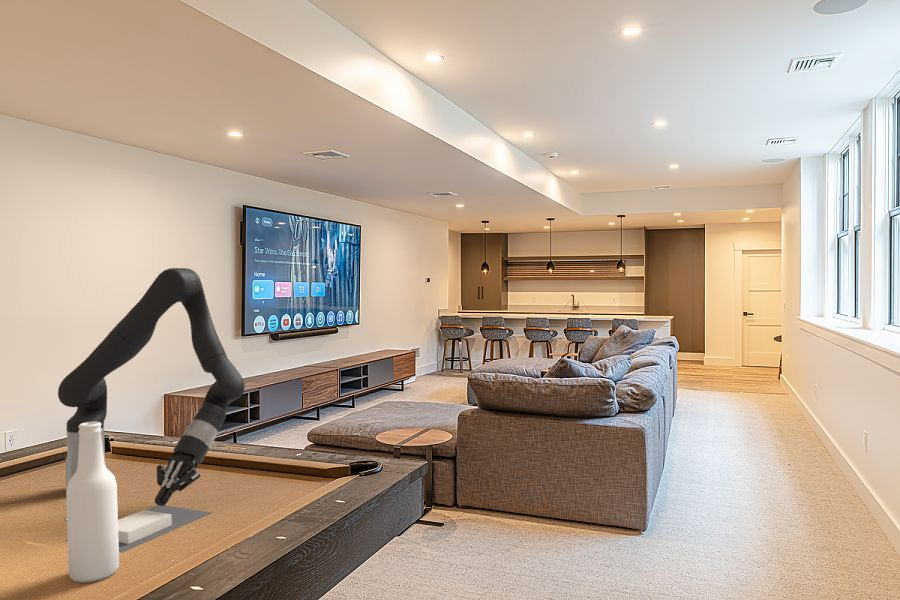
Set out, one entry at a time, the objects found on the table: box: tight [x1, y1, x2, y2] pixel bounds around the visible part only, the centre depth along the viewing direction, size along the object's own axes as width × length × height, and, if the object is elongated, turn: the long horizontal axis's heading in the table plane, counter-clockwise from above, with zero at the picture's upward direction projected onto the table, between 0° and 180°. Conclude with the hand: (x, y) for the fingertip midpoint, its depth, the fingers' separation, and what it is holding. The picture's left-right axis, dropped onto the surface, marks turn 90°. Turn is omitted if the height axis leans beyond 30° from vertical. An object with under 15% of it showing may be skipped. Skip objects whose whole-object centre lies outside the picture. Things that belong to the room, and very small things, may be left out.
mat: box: [65, 504, 212, 553], centre depth 155 cm, size 18×26×1 cm
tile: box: [118, 509, 172, 544], centre depth 151 cm, size 9×3×12 cm
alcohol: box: [65, 422, 120, 584], centre depth 129 cm, size 9×9×30 cm
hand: (158, 504), depth 157 cm, fingers closed
